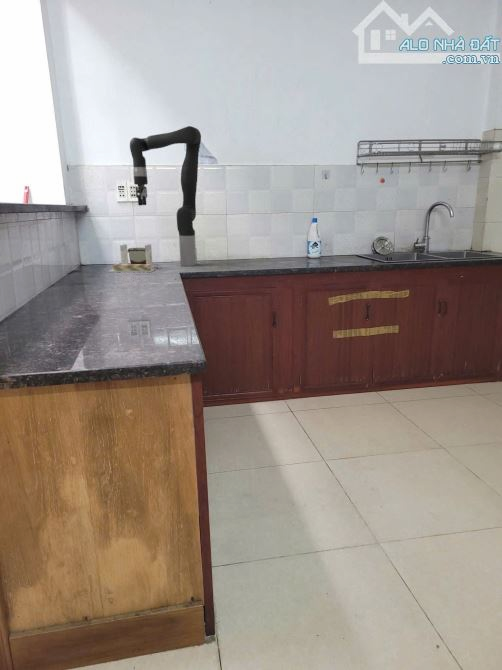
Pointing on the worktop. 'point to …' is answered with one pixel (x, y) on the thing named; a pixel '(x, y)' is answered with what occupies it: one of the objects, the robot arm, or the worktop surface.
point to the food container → (137, 255)
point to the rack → (147, 251)
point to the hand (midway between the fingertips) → (142, 205)
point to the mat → (132, 271)
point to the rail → (131, 267)
